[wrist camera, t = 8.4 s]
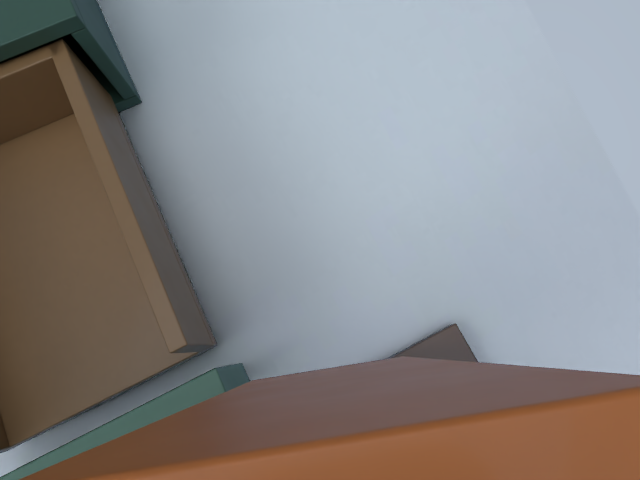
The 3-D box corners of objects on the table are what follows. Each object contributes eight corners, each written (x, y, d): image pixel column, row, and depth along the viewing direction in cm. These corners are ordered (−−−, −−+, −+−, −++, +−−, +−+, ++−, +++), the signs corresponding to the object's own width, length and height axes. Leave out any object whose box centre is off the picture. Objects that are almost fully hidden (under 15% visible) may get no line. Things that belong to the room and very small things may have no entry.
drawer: (287, 467, 20) (275, 509, 15) (38, 603, 19) (-70, 700, 14) (125, 94, 25) (73, 29, 20) (-81, 181, 24) (-192, 135, 19)
